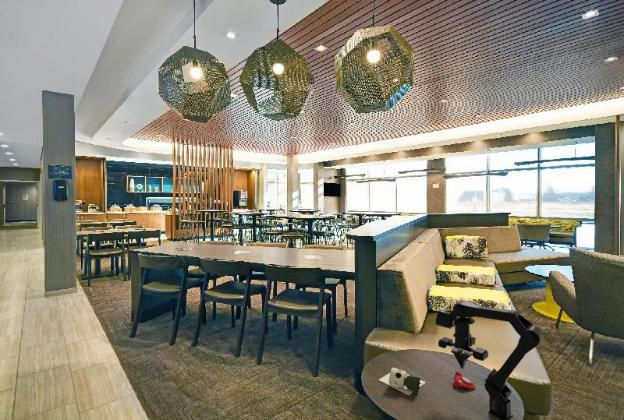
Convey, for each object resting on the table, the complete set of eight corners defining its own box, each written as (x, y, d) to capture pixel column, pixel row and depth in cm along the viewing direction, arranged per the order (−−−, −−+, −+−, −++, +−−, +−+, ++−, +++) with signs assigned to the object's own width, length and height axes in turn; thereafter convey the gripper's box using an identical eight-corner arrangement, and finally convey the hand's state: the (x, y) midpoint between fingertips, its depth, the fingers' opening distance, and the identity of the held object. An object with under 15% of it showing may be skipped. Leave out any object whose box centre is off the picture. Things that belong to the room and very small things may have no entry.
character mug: (417, 387, 136) (387, 376, 143) (417, 401, 138) (387, 390, 144) (423, 371, 145) (394, 361, 152) (422, 384, 147) (394, 374, 153)
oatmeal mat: (425, 383, 149) (425, 382, 149) (408, 395, 140) (408, 394, 140) (395, 370, 161) (395, 369, 161) (378, 380, 152) (378, 379, 152)
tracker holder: (480, 385, 145) (466, 386, 141) (477, 394, 146) (462, 395, 141) (458, 367, 156) (444, 367, 151) (455, 375, 157) (441, 375, 152)
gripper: (493, 332, 135) (493, 369, 135) (449, 320, 149) (449, 354, 149) (482, 340, 128) (482, 379, 128) (437, 327, 142) (437, 362, 142)
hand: (462, 368), depth 137 cm, fingers closed
